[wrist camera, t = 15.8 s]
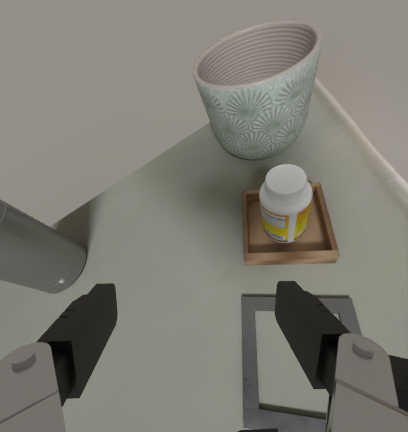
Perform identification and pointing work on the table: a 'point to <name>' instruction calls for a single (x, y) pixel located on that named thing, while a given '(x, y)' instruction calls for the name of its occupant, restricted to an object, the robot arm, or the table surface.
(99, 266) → the table surface
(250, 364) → the grey square frame
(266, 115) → the planter
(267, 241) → the tray
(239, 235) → the table surface
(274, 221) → the supplement bottle
